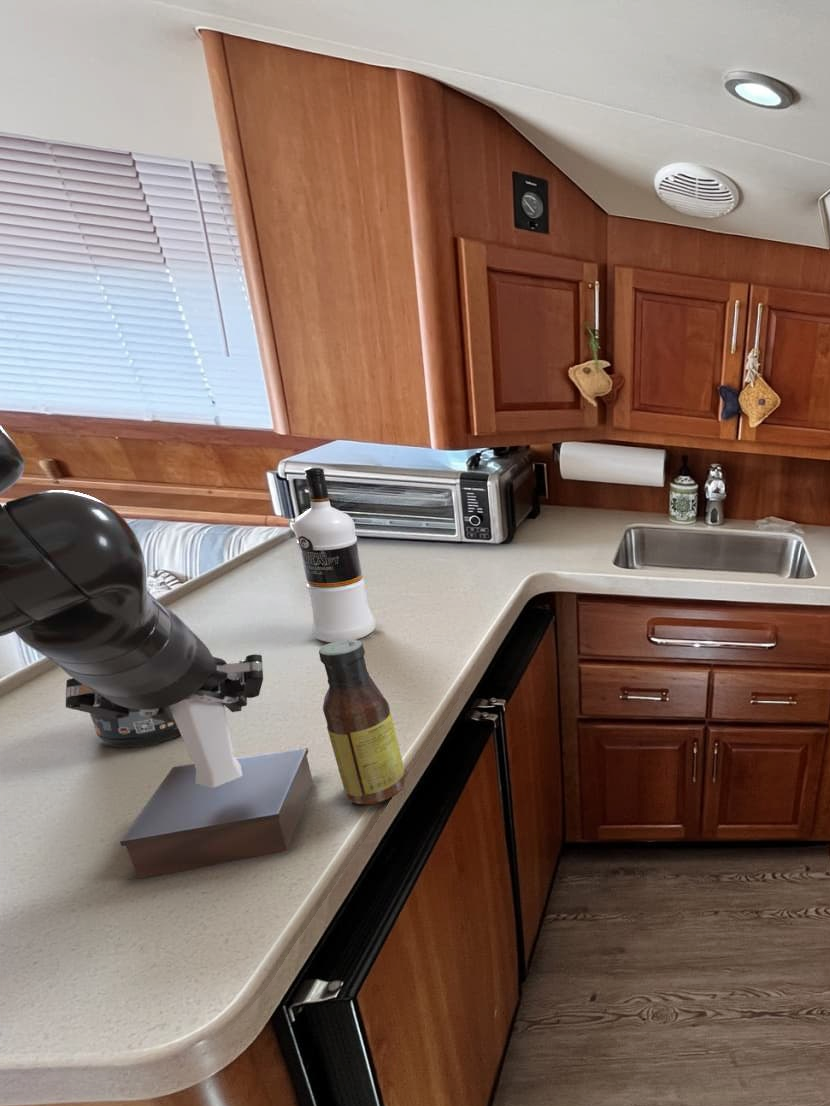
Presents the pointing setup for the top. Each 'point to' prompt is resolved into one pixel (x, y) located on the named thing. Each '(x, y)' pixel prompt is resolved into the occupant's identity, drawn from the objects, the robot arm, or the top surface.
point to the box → (220, 815)
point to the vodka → (332, 567)
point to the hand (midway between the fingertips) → (204, 707)
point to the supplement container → (133, 730)
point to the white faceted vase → (207, 740)
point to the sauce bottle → (360, 726)
